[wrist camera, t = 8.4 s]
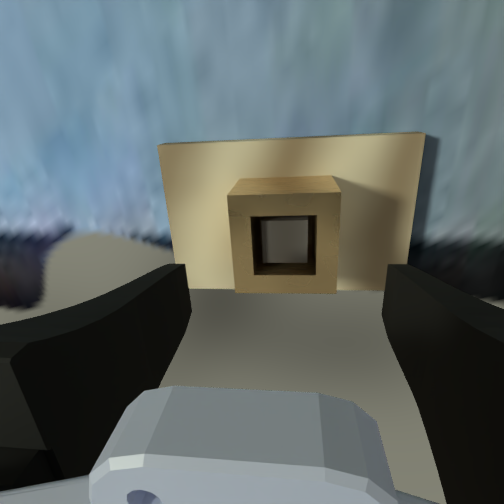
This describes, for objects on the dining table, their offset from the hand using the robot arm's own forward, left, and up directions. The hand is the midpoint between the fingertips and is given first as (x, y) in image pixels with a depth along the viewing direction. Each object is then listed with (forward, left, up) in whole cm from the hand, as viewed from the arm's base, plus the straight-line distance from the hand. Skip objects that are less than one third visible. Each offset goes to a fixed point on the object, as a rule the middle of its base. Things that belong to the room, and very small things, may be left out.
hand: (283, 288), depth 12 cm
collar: (0, 0, -8) cm, 8 cm away
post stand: (0, 0, -9) cm, 9 cm away
